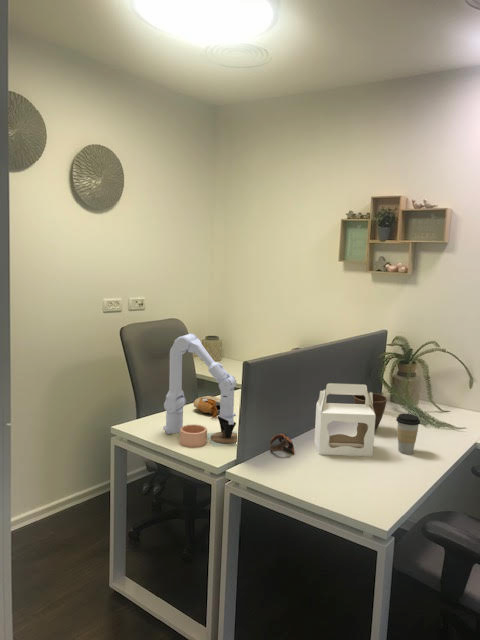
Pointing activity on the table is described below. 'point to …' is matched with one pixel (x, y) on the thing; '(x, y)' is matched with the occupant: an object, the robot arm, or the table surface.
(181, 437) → the terracotta bowl
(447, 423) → the table surface
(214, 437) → the walnut lid
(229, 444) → the rubber mat
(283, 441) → the brown openwork dome
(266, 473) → the table surface
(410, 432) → the coffee cup
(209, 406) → the nautilus
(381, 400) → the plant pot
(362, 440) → the gable box
